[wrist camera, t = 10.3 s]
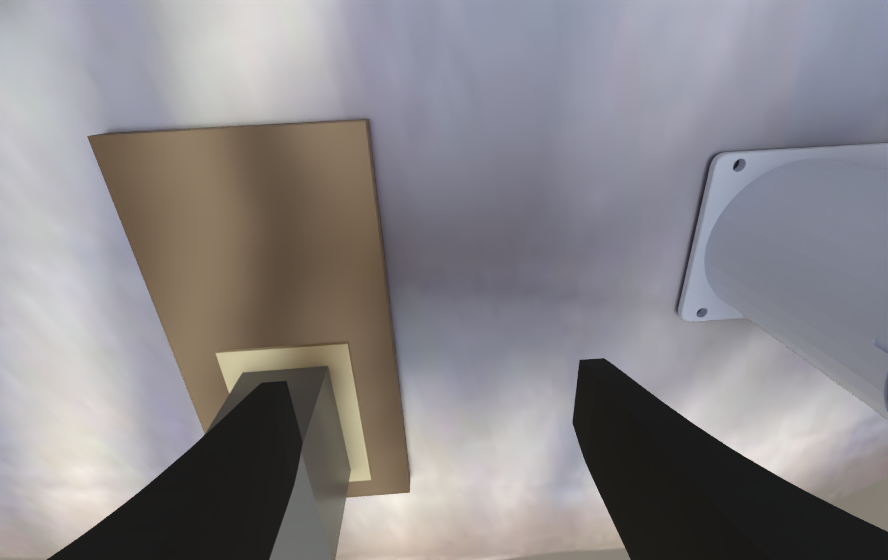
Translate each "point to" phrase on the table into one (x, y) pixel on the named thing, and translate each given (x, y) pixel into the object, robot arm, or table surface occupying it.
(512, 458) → the table surface
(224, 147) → the pin board
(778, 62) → the table surface
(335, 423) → the block
